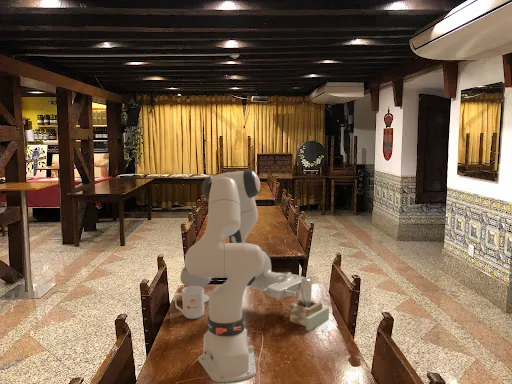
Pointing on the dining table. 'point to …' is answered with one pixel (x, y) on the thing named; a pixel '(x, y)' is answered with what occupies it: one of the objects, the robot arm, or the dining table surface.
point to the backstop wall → (317, 318)
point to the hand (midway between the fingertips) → (303, 291)
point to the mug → (192, 302)
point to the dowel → (306, 292)
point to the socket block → (303, 311)
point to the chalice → (194, 281)
